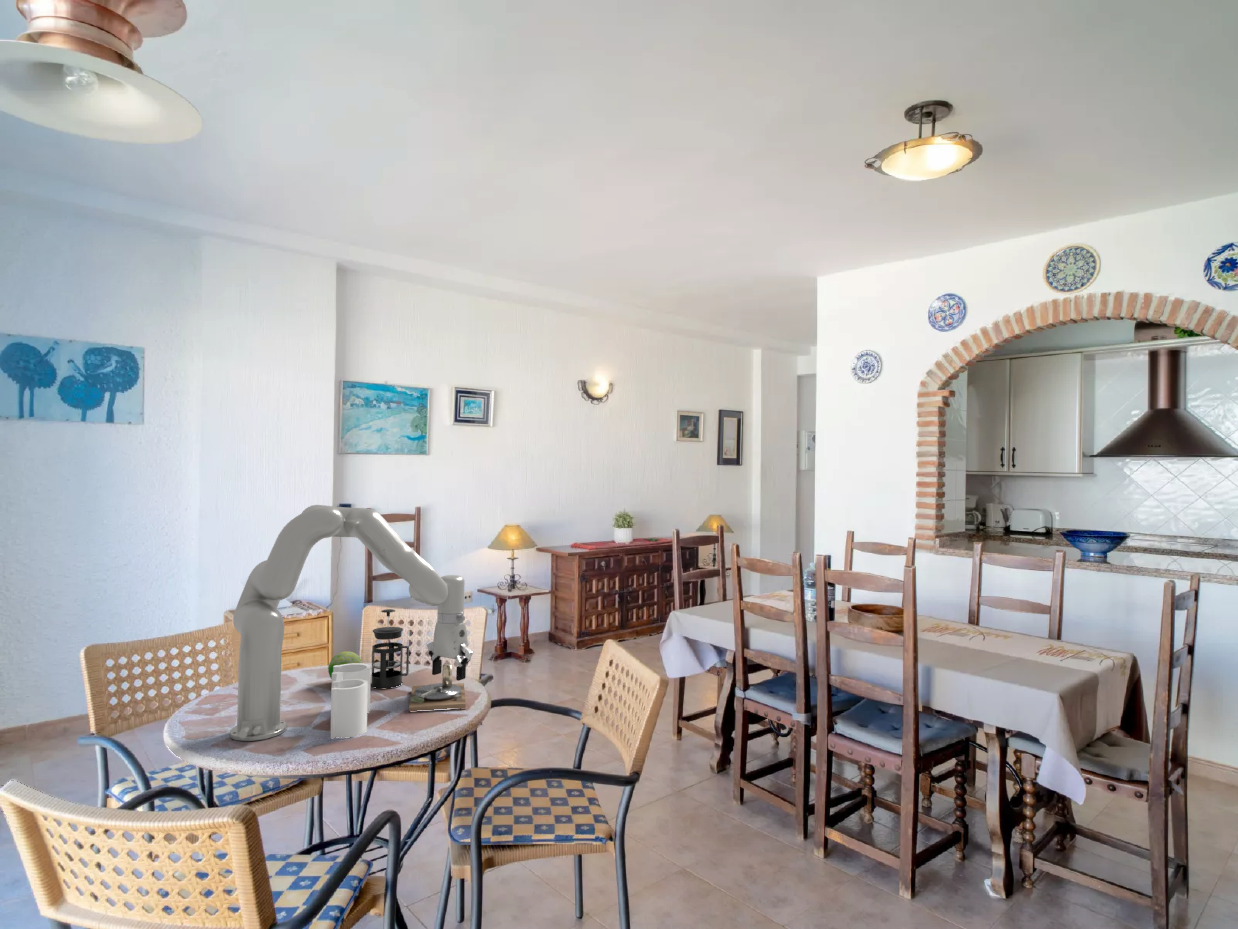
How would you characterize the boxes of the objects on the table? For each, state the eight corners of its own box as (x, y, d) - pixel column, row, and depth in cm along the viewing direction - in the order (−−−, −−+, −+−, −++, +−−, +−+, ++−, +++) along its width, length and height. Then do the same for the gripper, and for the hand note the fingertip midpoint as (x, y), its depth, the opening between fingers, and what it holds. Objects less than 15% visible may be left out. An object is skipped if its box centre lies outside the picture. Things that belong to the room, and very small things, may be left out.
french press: (364, 689, 211) (365, 612, 212) (373, 680, 221) (375, 606, 221) (403, 689, 212) (405, 612, 212) (411, 680, 221) (413, 607, 222)
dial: (442, 703, 193) (442, 678, 193) (402, 698, 198) (403, 673, 198) (469, 689, 206) (470, 665, 207) (432, 684, 211) (432, 661, 211)
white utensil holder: (369, 736, 174) (370, 687, 174) (326, 740, 170) (328, 690, 171) (370, 705, 197) (371, 661, 197) (332, 708, 194) (333, 664, 194)
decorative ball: (367, 680, 221) (367, 648, 221) (353, 689, 211) (354, 656, 211) (336, 679, 221) (337, 647, 222) (321, 688, 211) (322, 655, 212)
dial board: (465, 709, 195) (465, 700, 195) (409, 712, 191) (409, 703, 191) (463, 688, 214) (464, 679, 214) (412, 690, 210) (412, 682, 210)
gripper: (481, 619, 205) (479, 678, 205) (438, 612, 214) (436, 669, 214) (463, 623, 199) (461, 684, 199) (419, 616, 208) (418, 674, 208)
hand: (448, 676), depth 206 cm, fingers open, 9 cm apart
